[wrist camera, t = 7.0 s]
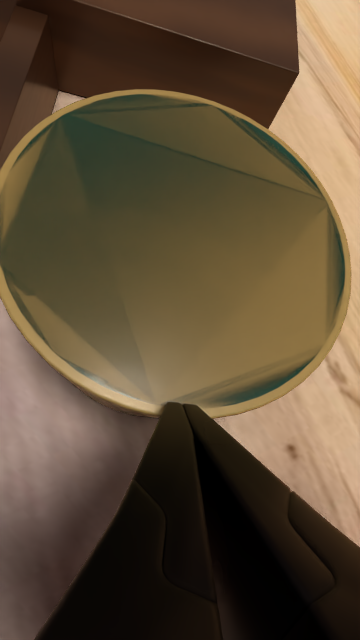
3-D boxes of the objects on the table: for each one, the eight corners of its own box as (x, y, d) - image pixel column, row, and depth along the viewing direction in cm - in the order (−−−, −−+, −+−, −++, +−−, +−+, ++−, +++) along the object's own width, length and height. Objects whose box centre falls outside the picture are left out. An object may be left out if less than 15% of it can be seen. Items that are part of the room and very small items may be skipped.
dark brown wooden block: (259, 270, 19) (308, 221, 15) (-215, 177, 15) (-359, 67, 10) (260, -21, 29) (290, -105, 25) (-25, -128, 25) (-54, -254, 20)
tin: (216, 467, 15) (299, 497, 9) (-23, 348, 15) (-124, 286, 8) (289, 267, 20) (379, 191, 13) (111, 170, 19) (115, 39, 13)
